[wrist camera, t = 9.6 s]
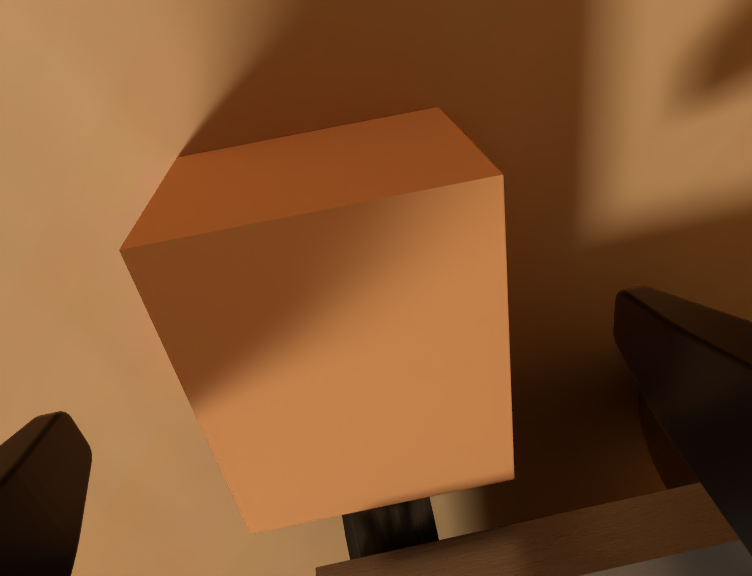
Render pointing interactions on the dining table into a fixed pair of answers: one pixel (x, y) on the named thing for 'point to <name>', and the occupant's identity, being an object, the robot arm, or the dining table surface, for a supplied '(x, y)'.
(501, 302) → the orange rectangular carton
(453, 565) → the platform trolley
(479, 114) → the dining table surface
